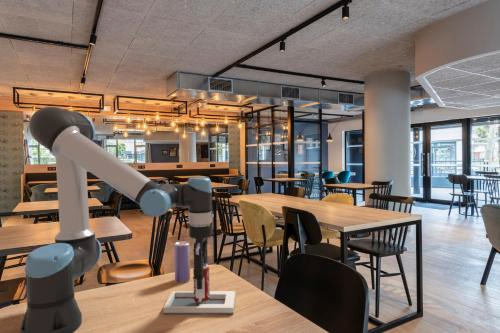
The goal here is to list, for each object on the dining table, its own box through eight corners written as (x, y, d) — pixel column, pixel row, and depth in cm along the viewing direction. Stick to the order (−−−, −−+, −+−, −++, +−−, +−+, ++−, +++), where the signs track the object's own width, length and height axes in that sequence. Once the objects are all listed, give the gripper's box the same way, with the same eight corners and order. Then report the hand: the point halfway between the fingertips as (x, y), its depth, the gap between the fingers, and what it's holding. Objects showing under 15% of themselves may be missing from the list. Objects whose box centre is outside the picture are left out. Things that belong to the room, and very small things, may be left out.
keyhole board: (163, 314, 100) (163, 307, 100) (173, 297, 112) (172, 291, 112) (233, 314, 99) (233, 307, 99) (235, 297, 111) (235, 291, 111)
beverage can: (182, 284, 122) (182, 246, 122) (171, 281, 126) (171, 243, 125) (193, 279, 127) (192, 242, 127) (182, 276, 131) (182, 240, 130)
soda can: (206, 304, 102) (206, 268, 102) (191, 303, 103) (190, 267, 103) (211, 297, 107) (211, 262, 107) (197, 296, 108) (196, 261, 108)
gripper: (207, 230, 95) (209, 306, 96) (215, 218, 113) (216, 282, 114) (182, 231, 95) (184, 306, 96) (194, 218, 113) (195, 282, 114)
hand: (201, 293), depth 105 cm, fingers closed on soda can, 5 cm apart
